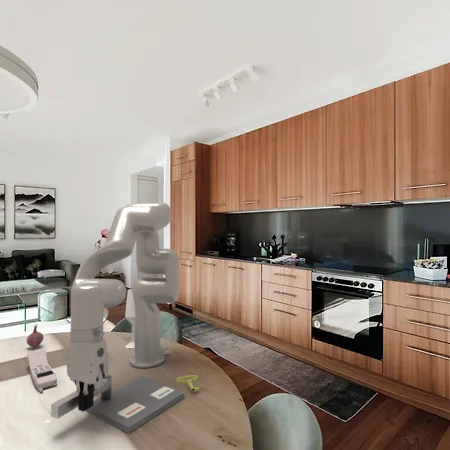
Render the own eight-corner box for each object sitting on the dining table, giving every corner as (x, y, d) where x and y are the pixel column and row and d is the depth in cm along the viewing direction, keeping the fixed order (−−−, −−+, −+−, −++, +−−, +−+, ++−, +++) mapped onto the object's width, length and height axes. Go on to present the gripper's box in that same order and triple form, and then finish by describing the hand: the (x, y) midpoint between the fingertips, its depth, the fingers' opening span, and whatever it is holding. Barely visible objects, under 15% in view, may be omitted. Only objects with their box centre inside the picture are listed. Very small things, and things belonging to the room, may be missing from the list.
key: (192, 396, 92) (192, 389, 92) (173, 381, 102) (173, 374, 102) (212, 389, 96) (212, 382, 97) (192, 375, 106) (192, 369, 107)
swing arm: (113, 396, 88) (113, 376, 88) (58, 431, 72) (58, 406, 73) (106, 394, 89) (106, 374, 90) (50, 428, 73) (50, 404, 74)
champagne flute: (144, 344, 136) (144, 289, 137) (134, 349, 129) (135, 291, 130) (131, 342, 138) (131, 288, 139) (121, 347, 132) (122, 290, 133)
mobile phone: (45, 347, 116) (59, 369, 97) (45, 363, 116) (59, 388, 96) (26, 351, 112) (37, 375, 93) (26, 368, 112) (37, 395, 93)
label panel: (142, 381, 101) (142, 375, 101) (184, 397, 91) (184, 391, 91) (85, 410, 84) (85, 403, 84) (128, 433, 74) (128, 425, 74)
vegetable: (27, 352, 127) (27, 327, 127) (25, 347, 132) (26, 323, 132) (44, 348, 130) (44, 324, 131) (42, 344, 135) (42, 321, 136)
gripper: (120, 333, 78) (119, 408, 77) (79, 325, 84) (78, 394, 84) (96, 342, 71) (94, 424, 70) (53, 333, 78) (52, 408, 77)
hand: (85, 407), depth 77 cm, fingers closed
